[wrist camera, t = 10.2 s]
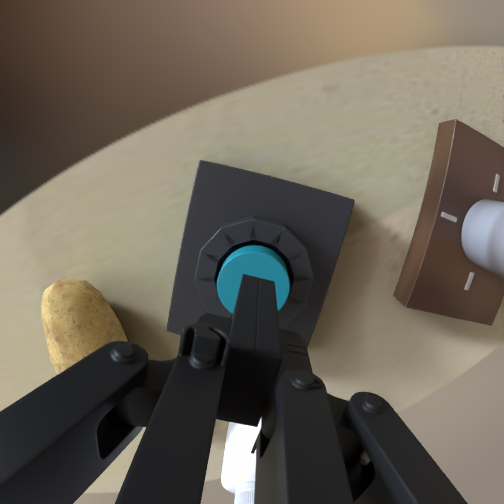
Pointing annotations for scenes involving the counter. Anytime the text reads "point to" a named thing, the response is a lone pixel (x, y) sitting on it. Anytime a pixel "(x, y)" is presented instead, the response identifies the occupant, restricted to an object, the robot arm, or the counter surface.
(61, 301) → the potato
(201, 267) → the push button box
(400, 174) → the counter surface
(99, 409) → the robot arm
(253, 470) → the eye dropper bottle
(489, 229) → the dial
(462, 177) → the dial panel
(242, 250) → the teal round puck
